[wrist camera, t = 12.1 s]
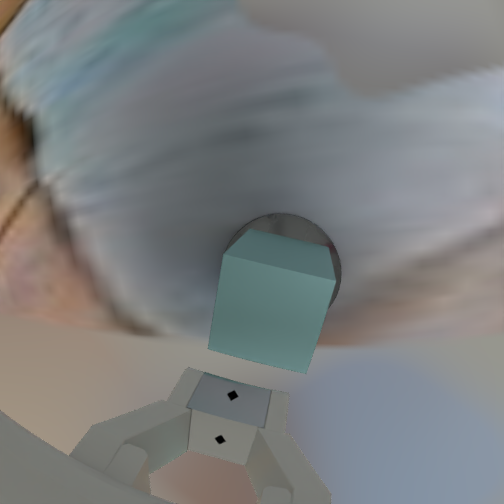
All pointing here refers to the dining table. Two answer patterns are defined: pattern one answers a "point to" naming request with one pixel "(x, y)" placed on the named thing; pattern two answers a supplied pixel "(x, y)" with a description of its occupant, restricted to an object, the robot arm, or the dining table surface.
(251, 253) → the teal rectangular block
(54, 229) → the dining table surface
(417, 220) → the dining table surface
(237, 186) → the dining table surface
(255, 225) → the grey round stand
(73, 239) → the dining table surface
